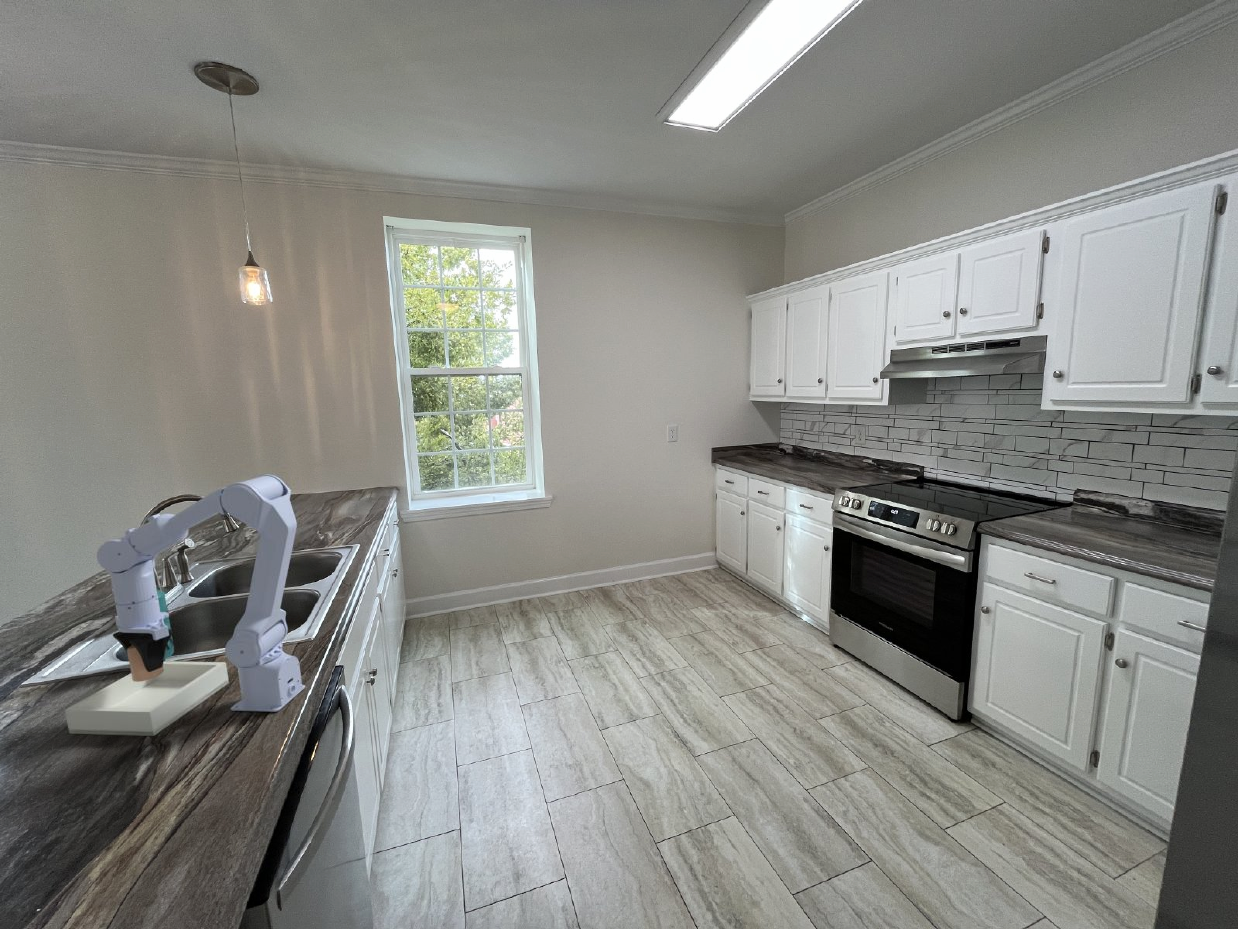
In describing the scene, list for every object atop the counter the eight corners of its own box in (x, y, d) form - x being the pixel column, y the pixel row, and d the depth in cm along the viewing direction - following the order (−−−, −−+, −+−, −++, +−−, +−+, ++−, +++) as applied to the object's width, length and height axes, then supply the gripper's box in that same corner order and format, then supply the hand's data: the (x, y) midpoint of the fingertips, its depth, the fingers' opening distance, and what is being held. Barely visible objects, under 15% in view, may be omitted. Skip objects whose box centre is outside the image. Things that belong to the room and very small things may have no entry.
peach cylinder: (163, 675, 95) (158, 646, 94) (131, 684, 93) (125, 654, 92) (164, 666, 99) (159, 637, 98) (133, 674, 96) (128, 645, 95)
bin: (228, 683, 104) (225, 662, 104) (154, 736, 89) (149, 712, 88) (156, 681, 105) (152, 661, 105) (69, 733, 90) (64, 710, 89)
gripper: (183, 596, 94) (194, 664, 96) (144, 585, 100) (154, 648, 102) (135, 612, 88) (147, 683, 90) (96, 598, 94) (108, 666, 96)
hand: (148, 666), depth 96 cm, fingers closed on peach cylinder, 4 cm apart
